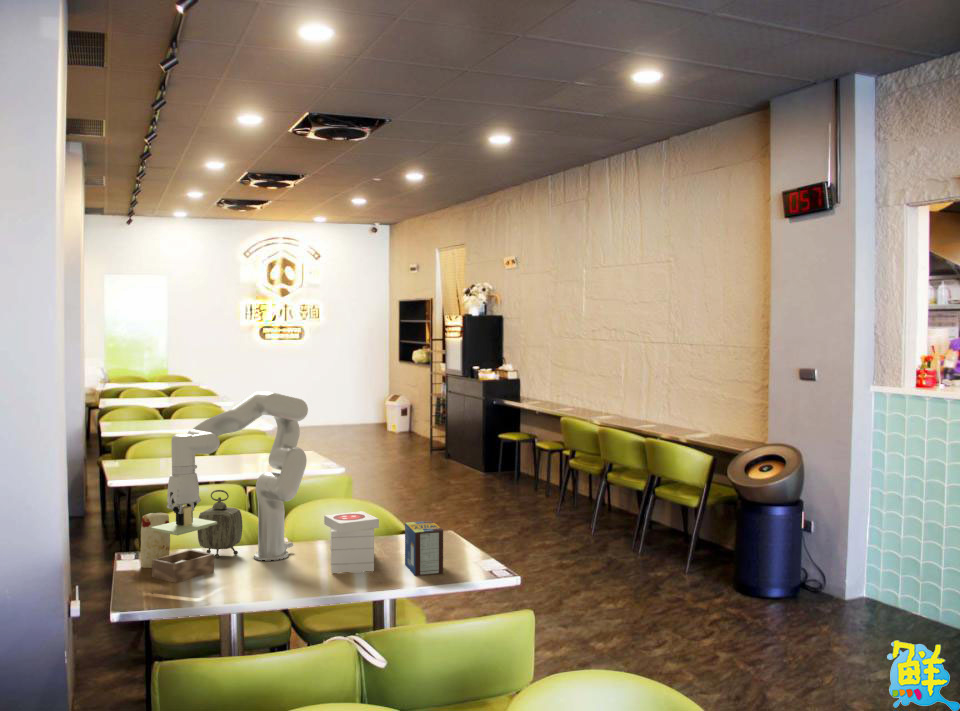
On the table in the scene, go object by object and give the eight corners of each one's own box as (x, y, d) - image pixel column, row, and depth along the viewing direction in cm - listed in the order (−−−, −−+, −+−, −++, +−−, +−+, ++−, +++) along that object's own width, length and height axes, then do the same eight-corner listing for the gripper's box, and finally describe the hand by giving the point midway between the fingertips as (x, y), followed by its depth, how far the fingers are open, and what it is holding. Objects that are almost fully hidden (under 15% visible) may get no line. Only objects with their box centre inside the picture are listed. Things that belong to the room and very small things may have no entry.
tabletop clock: (242, 554, 312) (242, 488, 312) (232, 560, 303) (232, 493, 303) (205, 552, 314) (205, 487, 313) (195, 559, 305) (195, 491, 304)
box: (190, 568, 292) (190, 549, 292) (213, 574, 286) (213, 554, 286) (151, 580, 278) (151, 559, 278) (175, 586, 272) (175, 564, 272)
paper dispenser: (374, 551, 318) (374, 504, 318) (379, 573, 289) (379, 522, 288) (323, 553, 315) (324, 506, 314) (324, 575, 285) (324, 523, 285)
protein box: (432, 562, 303) (432, 520, 303) (443, 573, 289) (443, 529, 289) (404, 564, 300) (404, 522, 300) (414, 576, 286) (414, 531, 285)
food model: (139, 572, 288) (139, 515, 287) (141, 566, 294) (141, 511, 293) (169, 570, 290) (169, 513, 290) (171, 565, 297) (171, 509, 296)
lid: (192, 522, 293) (191, 500, 292) (217, 526, 286) (216, 504, 286) (150, 532, 278) (150, 509, 278) (176, 537, 271) (176, 514, 271)
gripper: (195, 465, 290) (196, 517, 291) (155, 473, 276) (156, 527, 277) (210, 467, 286) (211, 520, 287) (170, 475, 272) (171, 530, 273)
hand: (184, 523), depth 282 cm, fingers closed on lid, 3 cm apart
